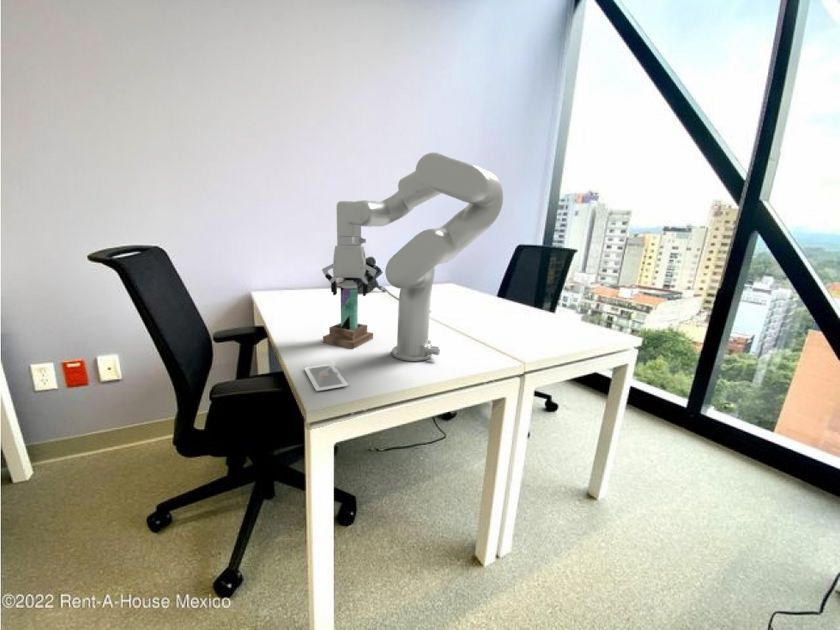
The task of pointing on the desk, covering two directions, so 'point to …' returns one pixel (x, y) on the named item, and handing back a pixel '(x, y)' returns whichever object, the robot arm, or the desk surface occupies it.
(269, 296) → the desk surface
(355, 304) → the spray can
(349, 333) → the display stand
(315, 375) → the touchpad
